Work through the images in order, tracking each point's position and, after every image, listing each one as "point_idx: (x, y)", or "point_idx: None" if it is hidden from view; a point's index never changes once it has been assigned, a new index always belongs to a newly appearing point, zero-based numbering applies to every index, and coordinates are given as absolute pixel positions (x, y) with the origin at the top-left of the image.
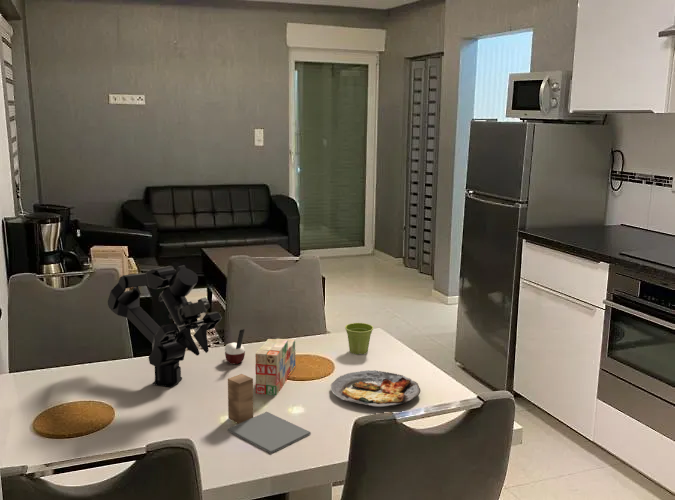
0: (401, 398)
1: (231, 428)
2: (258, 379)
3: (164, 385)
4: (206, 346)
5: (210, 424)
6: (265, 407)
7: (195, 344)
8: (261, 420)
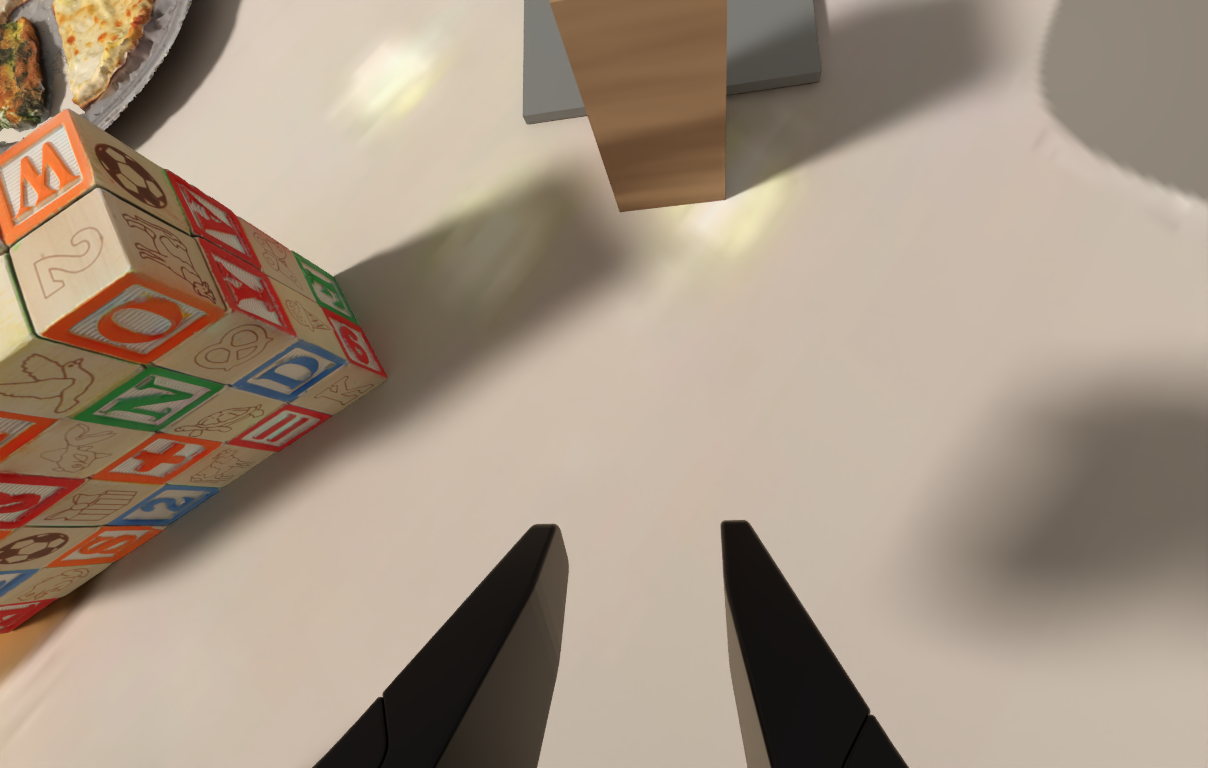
0: None
1: (802, 60)
2: (317, 333)
3: None
4: (521, 575)
5: (855, 202)
6: (479, 190)
7: (750, 661)
8: None
